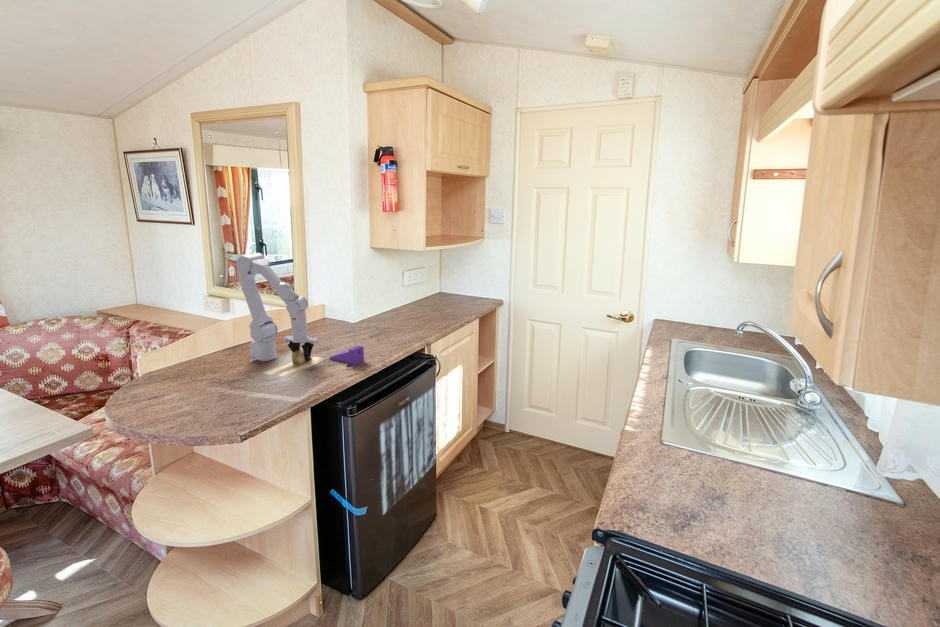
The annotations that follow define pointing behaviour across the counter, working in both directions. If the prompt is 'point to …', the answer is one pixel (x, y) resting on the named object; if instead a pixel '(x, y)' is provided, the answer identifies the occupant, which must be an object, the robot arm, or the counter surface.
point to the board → (292, 367)
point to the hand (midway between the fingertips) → (302, 359)
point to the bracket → (350, 356)
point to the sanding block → (299, 357)
